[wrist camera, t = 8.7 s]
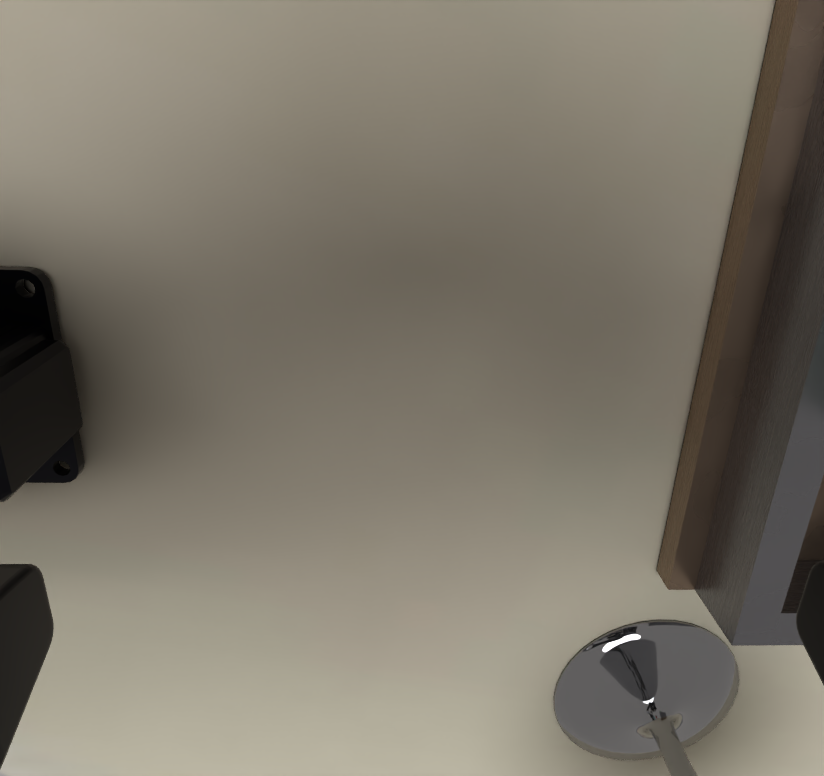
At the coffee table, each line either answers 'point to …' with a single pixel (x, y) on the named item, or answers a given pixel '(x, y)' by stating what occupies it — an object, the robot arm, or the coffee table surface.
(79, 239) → the coffee table surface
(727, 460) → the grey long open box
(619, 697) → the wine glass
